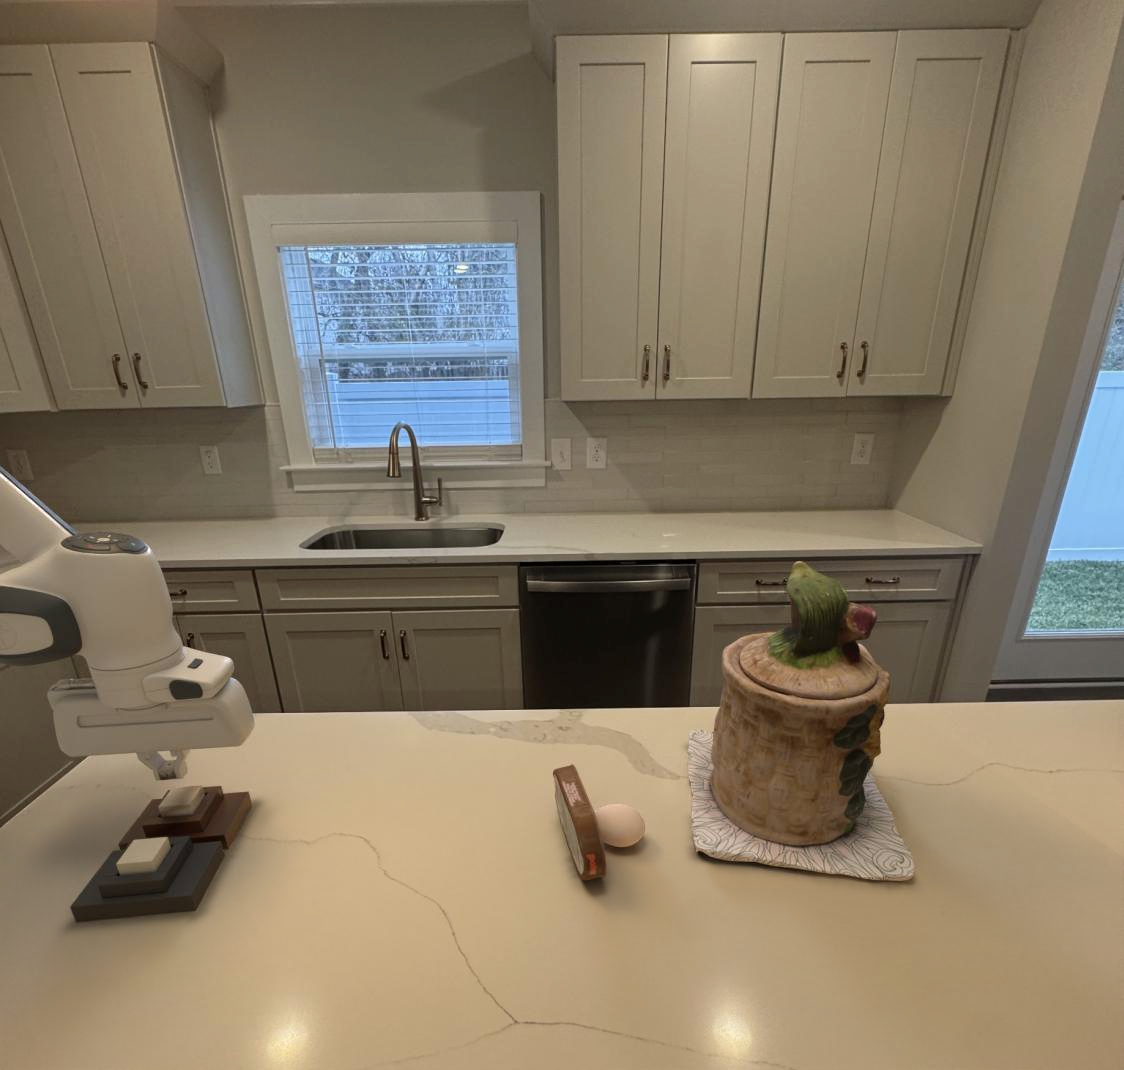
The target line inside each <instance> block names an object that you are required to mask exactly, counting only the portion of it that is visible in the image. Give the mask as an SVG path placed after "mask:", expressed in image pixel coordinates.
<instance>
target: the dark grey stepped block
mask: <svg viewBox="0 0 1124 1070" xmlns="http://www.w3.org/2000/svg"><path fill="white" fill-rule="evenodd" d="M168 840H169V843H170V846H171V850H170V852H169V853H168V855H167V856H166V858H165V859H164V861H163V862H162V864H161V866H160V867H159V869H158V870H157V872H155V873H144V874H133V875H122V876H120V873H119V871H118V868H117V865H116V863H117V862H118V861H119V859H120V858H121V857H122V855H123V854H124V853H125V851H126V850H127V848H128V847H129V846H130V844H131V843H132V842H133V841H130V842H129V843H128V845H127V846H126V848H125V849H124V850H120V849H118V850H112V852H110V854H109V855H108V856H107V858H106V859H105V860H104V862H103V863H102V864H101V866H100V867H99V868H98V869H97V871H96V872H95V874H94V875H93V876H92V878H91V879H90V880H89V882H88V883H86V885H85V887H84V888H83V889H82V891H81V892H80V893H79V895H77V897H76V898H75V900H74V901H73V902H72V904H70V906H69V909H70V911H71V913H72V916H73V919H74V921H75V922H76V923H83V922H93V921H95V922H96V921H102V920H103V921H104V920H105V921H106V920H115V919H123V918H134V917H143V916H145V917H146V916H155V915H164V914H166V915H167V914H175V913H185V912H195V911H196V910H197V909H198V908H199V905H200V904H201V902H202V900H203V898H204V896H205V894H206V892H207V890H208V888H209V887H210V884H211V882H212V881H213V879H214V877H215V875H216V873H217V872H218V870H219V868H220V866H221V864H222V862H223V860H224V858H225V856H226V854H225V849H223V846H222V843H221V841H217V842H206V843H195V844H192V841H191V838H190V836H182V837H170V838H168Z"/></svg>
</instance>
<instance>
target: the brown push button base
mask: <svg viewBox="0 0 1124 1070" xmlns="http://www.w3.org/2000/svg"><path fill="white" fill-rule="evenodd" d="M202 787H203V790H204V794H205V798H204V799H203V801H202V802H201V804H200V805H199V807H198V809H197V810H196V812H195V813H194V815H183V816H171V817H161V814H160V811H159V808H158V806H159V805H160V804H161V802H162V801H163V800H164V798H165V797H166V796H167V794H168V793H169V792H170V790H171V789H168V790H167V791H166V792H165V794H164V795H163V796H162V797H161V798H152V799H151V800H150V802H149V803H148V804H147V805H146V807H145V808H144V809H143V811H142V812H141V813H140V814H139V816H138V817H137V819H136V820H134V823H133V824H132V825H131V826H130V828H129V829H128V830H127V832H126V833H125V834H124V836H123V837H122V838H121V839H120V840H119V842H118V843H117V846H118V848H119V849H118V850H124V849H125V848H126V846H127V845H128V843H129V842H130V841H133V840H138V839H150V838H161V837H168V838H170V837H182V836H190V838H191V841H192V844H195V843H206V842H217V841H221V843H222V846H223V850H229V849H230V848H231V845H232V843H233V842H234V840H235V838H236V836H237V834H238V832H239V830H240V828H241V826H242V825H243V822H244V821H245V819H246V817H247V815H248V814H249V811H250V809H251V808H252V806H253V803H252V798H251V795H250V791H237V792H236V791H235V792H224V790H223V787H222V785H211V786H202Z"/></svg>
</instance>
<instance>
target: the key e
mask: <svg viewBox="0 0 1124 1070" xmlns="http://www.w3.org/2000/svg"><path fill="white" fill-rule="evenodd" d="M203 787H204V786H203V785H191V786H190V785H189V786H178V787H171V789H169V790H170V792H169V793H168V794H167V796H166V797H165V798H164V800H163V801H162V802H161V804H160V805H159V806H158V808H159V811H160V814H161V817H171V816H183V815H194V813H195V812H196V810H197V809H198V807H199V805H200V804H201V802H202V801H203V799H204V798H205V794H204V790H203Z"/></svg>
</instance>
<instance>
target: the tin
mask: <svg viewBox="0 0 1124 1070" xmlns="http://www.w3.org/2000/svg"><path fill="white" fill-rule="evenodd" d="M552 776H553V780H554V782H553V783H554V791H555V792H554V799H555V804H556V809H557V813H558V817H559V821H560V824H561V827H562V831H563V833H564V837H565V841H566V844H567V846H568V850H569V852H570V854H571V858H572V860H573V863H574V867H575V869H576V872H577V874H578V876H579V878H580V879H581V880H582V881H589V880H593V879H597V878H605V877H606V875H607V860H606V852H605V846H604V842H603V841H602V836H601V832H600V829H599V825H598V822H597V818H596V816H595V813H594V812H595V810H594V808H593V806H592V803H591V801H590V798H589V796H588V794H587V791H586V788H585V786H584V784H583V781H582V779H581V777H580V774H579V772H578V770H577V767H576V765H574V764H573V763H572V764H570V765H566V766H562V767H558V768H554V770H553V771H552Z"/></svg>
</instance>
